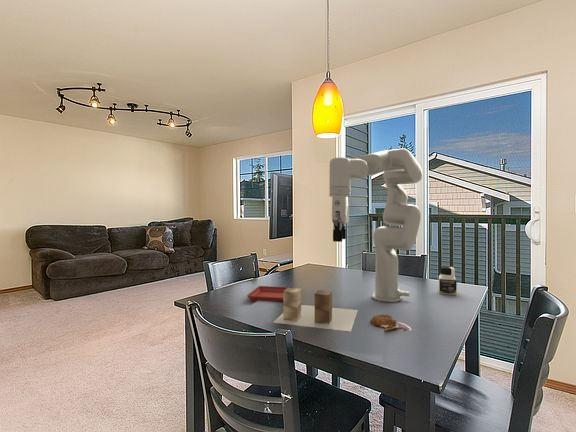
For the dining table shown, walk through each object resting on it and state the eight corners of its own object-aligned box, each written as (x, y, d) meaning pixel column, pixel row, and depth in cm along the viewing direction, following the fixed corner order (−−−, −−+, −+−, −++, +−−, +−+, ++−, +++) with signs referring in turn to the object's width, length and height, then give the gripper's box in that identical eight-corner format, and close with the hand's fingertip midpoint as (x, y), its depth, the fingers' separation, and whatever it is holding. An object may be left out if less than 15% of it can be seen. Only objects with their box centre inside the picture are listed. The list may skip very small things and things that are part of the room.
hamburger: (387, 340, 100) (387, 320, 100) (359, 325, 113) (359, 307, 113) (421, 332, 106) (421, 314, 106) (391, 318, 119) (391, 302, 118)
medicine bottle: (439, 293, 151) (439, 267, 151) (438, 289, 158) (438, 265, 158) (456, 295, 149) (456, 268, 148) (455, 291, 155) (455, 266, 155)
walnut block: (331, 319, 113) (332, 291, 113) (329, 324, 108) (329, 294, 108) (317, 318, 114) (317, 290, 114) (314, 323, 110) (314, 293, 109)
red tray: (258, 292, 155) (258, 285, 155) (296, 294, 152) (296, 287, 152) (246, 303, 138) (246, 295, 137) (288, 305, 134) (288, 297, 134)
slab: (357, 313, 124) (357, 310, 124) (350, 335, 103) (350, 331, 103) (292, 306, 131) (292, 303, 131) (273, 326, 110) (273, 322, 110)
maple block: (301, 316, 116) (301, 288, 116) (297, 321, 112) (297, 292, 111) (287, 315, 118) (287, 287, 117) (283, 319, 113) (283, 291, 113)
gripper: (347, 191, 109) (346, 243, 109) (353, 193, 126) (352, 238, 126) (324, 191, 111) (324, 242, 112) (333, 193, 128) (333, 237, 128)
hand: (339, 240), depth 119 cm, fingers open, 8 cm apart
